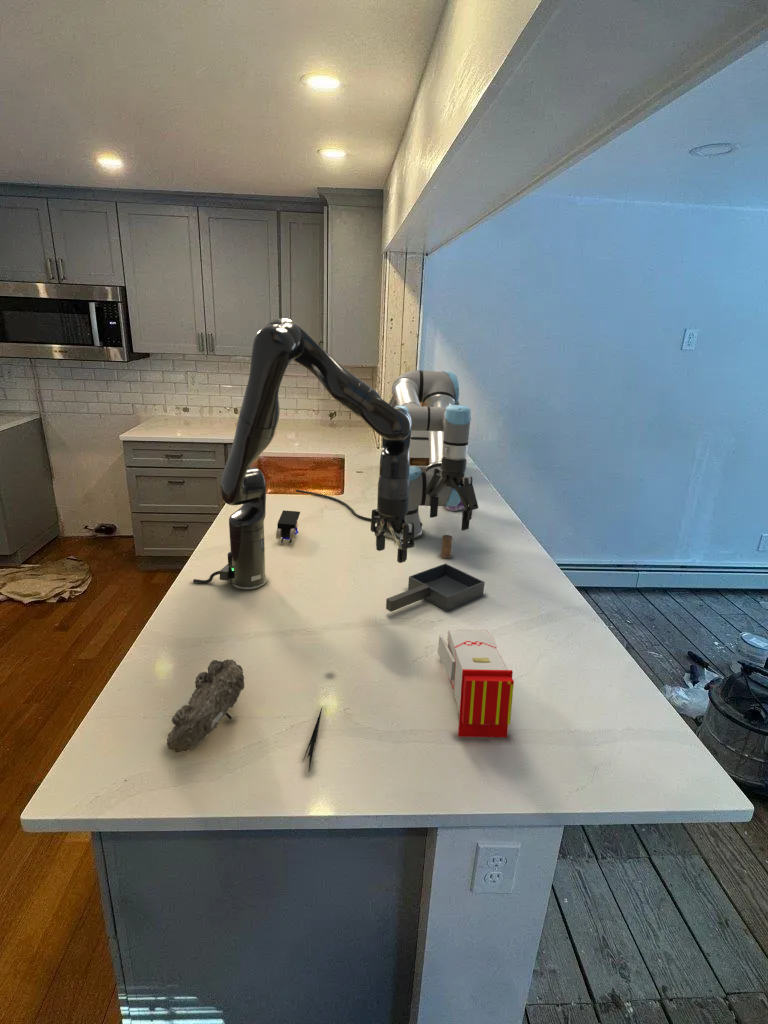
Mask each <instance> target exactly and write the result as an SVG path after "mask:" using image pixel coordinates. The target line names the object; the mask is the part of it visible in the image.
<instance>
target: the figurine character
mask: <svg viewBox="0 0 768 1024" xmlns="http://www.w3.org/2000/svg"><path fill="white" fill-rule="evenodd" d="M300 515H301V511H296V510H285V509H284V510H283V509H282V512H281V514H280V517H279V518H278V521H277V526H276V532H275V539H276V540H280V544H283V543H284V541H288V542H289V544H292V542H293V540H295V539H296V535H298V534H299V530H298V526H299V524H298V520H299V517H300Z"/></svg>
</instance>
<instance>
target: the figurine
mask: <svg viewBox="0 0 768 1024" xmlns="http://www.w3.org/2000/svg"><path fill="white" fill-rule="evenodd" d="M445 508H446V510H448V511H451V512H452V511H453V512H457V511H463V510H464V509H465V507H464V505H463V503H462V501H461V500H460V503H459V504H458V505H457V506H447V507H445Z"/></svg>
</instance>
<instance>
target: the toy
mask: <svg viewBox="0 0 768 1024" xmlns="http://www.w3.org/2000/svg"><path fill="white" fill-rule="evenodd" d="M446 640H447V643H446V641H445V639H444V636H443V635H442V634H439V637H438V646H437V656H438V657H439V659H440V661H441V663H442V666H443V668H444V670H445V672H446V674H447V677H448V679H449V681H450V684H451V687H452V690H453V693H454V697H455V701H456V705H457V708H458V711H459V714H458V715H459V716H458V730H457V731H458V732H457V737H458V738H508V731H509V726H510V725H511V717H512V707H513V697H514V696H513V695H514V684H515V680H514V679H513V673H514V671H513V670H512V669H508V667H507V665H506V662H505V661H504V659H503V658H502V655H501V653H500V651H499V649H498V647H497V643H496V639H495V637H494V635H493V634H491V632H490V631H489V629H467V628H466V629H465V628H463V629H461V628H460V629H459V628H448V630H447V639H446Z"/></svg>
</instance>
